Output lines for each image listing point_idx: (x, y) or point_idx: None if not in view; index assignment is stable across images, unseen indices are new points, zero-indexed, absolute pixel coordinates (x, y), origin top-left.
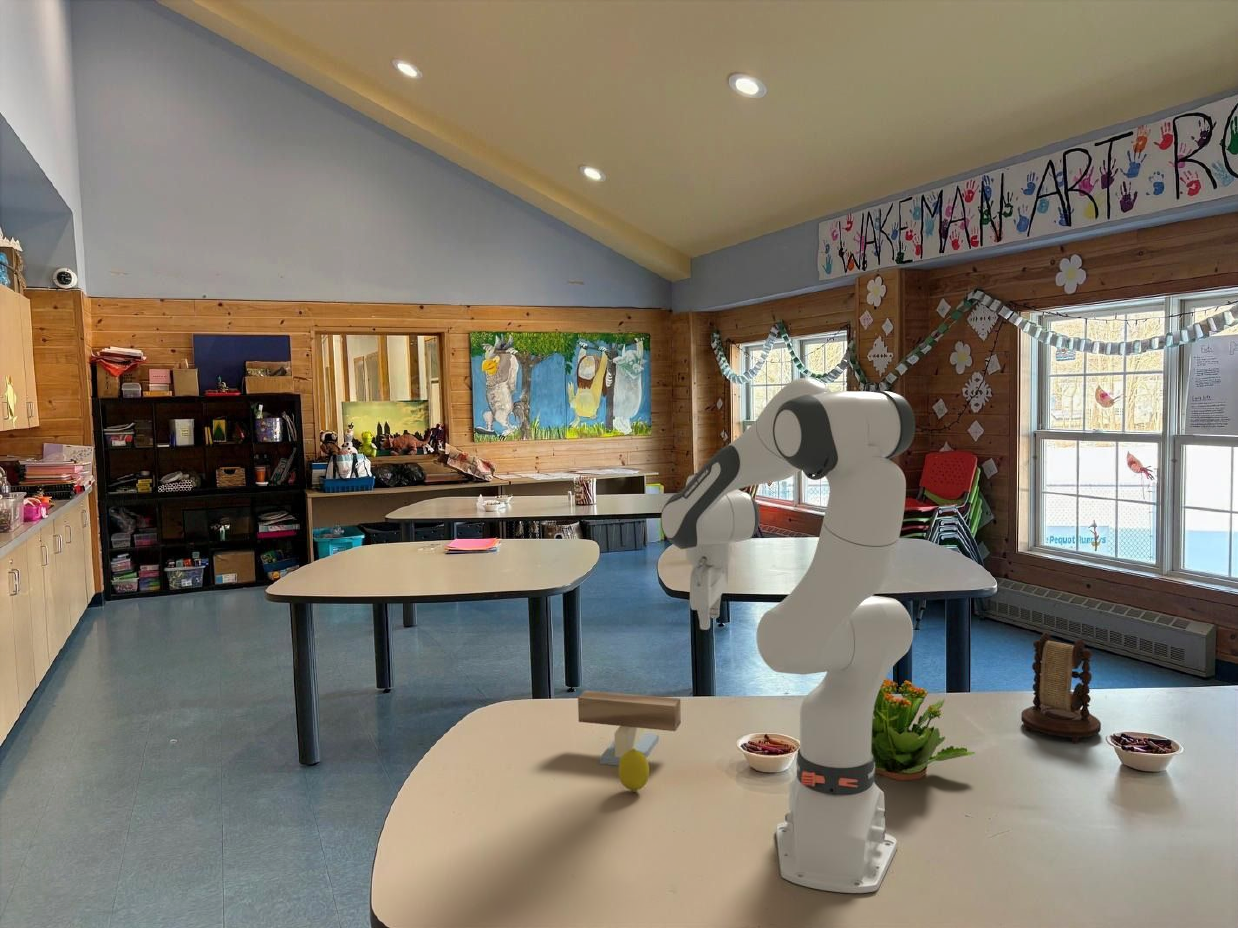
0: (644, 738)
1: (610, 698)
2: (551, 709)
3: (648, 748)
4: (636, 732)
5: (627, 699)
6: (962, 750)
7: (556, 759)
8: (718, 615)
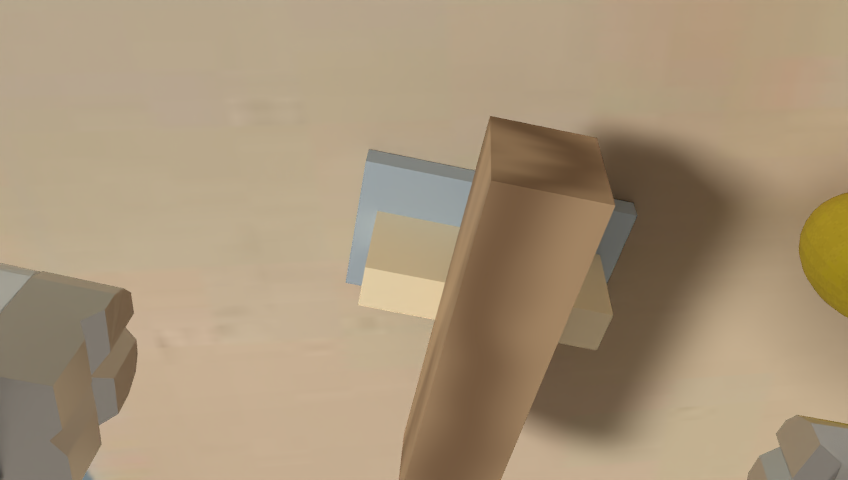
0: (412, 208)
1: (489, 443)
2: (163, 453)
3: None
4: None
5: (503, 391)
6: None
7: (546, 414)
8: (65, 287)
